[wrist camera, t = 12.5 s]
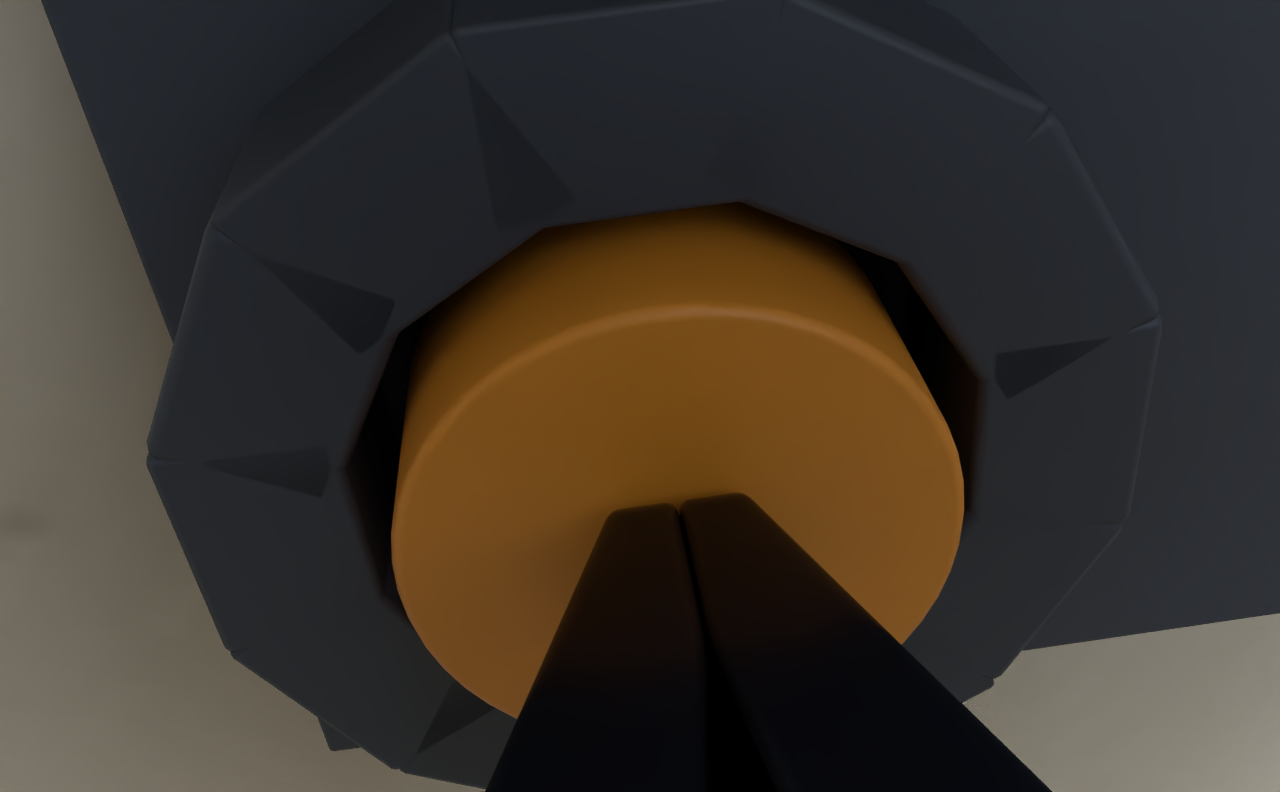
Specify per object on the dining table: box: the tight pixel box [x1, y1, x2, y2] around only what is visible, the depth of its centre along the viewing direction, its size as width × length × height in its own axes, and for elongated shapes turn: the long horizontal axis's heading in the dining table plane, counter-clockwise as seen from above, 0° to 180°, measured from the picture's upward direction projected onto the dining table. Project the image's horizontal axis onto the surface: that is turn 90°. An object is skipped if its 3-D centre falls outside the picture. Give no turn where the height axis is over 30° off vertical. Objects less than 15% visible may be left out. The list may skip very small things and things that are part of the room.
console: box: [41, 0, 1280, 789], centre depth 9 cm, size 10×14×4 cm
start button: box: [391, 202, 964, 719], centre depth 8 cm, size 4×4×2 cm
